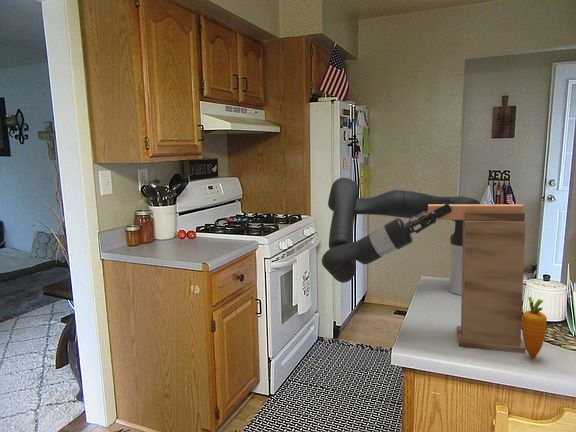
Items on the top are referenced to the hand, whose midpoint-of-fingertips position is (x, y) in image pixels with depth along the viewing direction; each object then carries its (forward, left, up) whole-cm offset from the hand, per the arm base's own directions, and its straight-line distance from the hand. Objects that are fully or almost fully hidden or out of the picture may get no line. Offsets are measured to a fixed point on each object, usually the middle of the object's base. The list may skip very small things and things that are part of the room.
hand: (449, 206), depth 110 cm
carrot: (+8, +19, -35) cm, 41 cm away
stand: (0, +10, -35) cm, 37 cm away
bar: (0, +6, -3) cm, 7 cm away
